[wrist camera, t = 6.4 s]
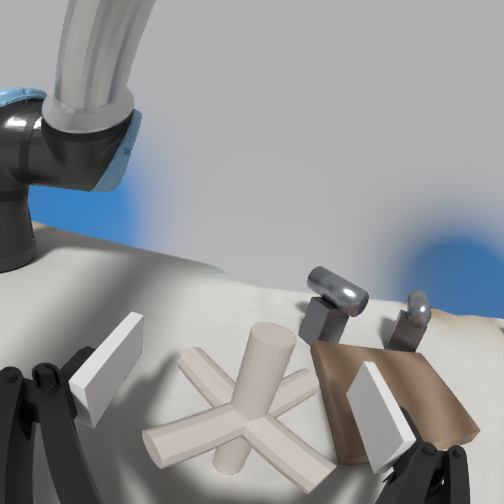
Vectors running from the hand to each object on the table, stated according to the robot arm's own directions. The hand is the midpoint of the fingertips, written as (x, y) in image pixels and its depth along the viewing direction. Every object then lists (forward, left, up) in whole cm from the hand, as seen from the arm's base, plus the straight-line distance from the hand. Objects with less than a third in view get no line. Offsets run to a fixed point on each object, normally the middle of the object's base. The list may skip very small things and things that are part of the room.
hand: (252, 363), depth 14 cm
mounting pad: (+15, +5, -6) cm, 17 cm away
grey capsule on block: (+9, +15, -6) cm, 19 cm away
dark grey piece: (+21, +15, -6) cm, 27 cm away
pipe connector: (0, -3, -6) cm, 7 cm away
